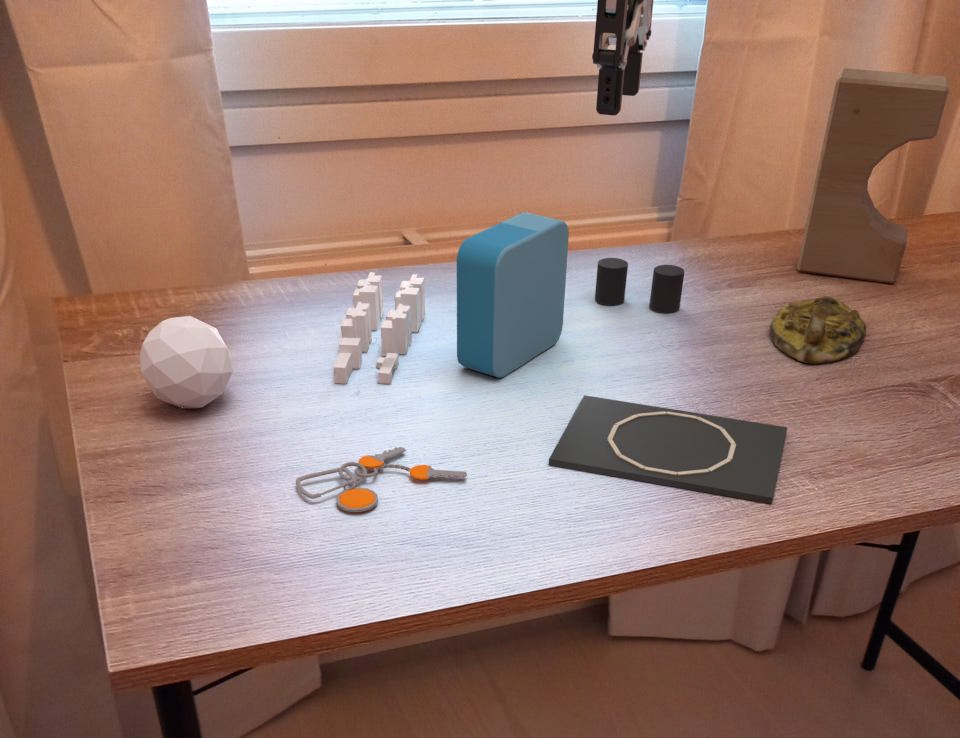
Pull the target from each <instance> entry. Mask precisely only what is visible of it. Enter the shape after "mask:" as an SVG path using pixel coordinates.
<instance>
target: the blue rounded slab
mask: <svg viewBox="0 0 960 738" xmlns="http://www.w3.org/2000/svg"><path fill="white" fill-rule="evenodd" d="M569 233H570V232H569V227H568V225H567V223H566V222H565V221H564V220H561V219H557V218H554V217H553V218H552V217H548V216H543V215H540V214H535V213H530V212H526V211H523V212H520V213H518V214H516V215H514V216H512V217H510V218H508V219H505V220H504V221H501V222H499V223H497V224H495V225H493V226H490V227H488V228H486V229H484V230H482V231H480V232H478V233H476V234H473V235H471V236H469V237H467V238H465V239H464V240H463V241H462V243H461V244H460V246H459V248H458V251H457V255H456V358H457V361H458V363H459V365H460V366H462V367H464V368H467V369H470V370H473V371H475V372H476V371H477V372H479V373H483V374H486V375H489V376H491V377H496V378H499V379H501V378H503V377H506V376H507V375H510V374H511V373H512V372H513V371H515V370H517V369H518V368H520V367H521V366H523V365H524V364H526V363H527V362H529V361H531V360H532V359H534V358H535V357H537V356H539V355H540V354H541V353H544V352H545V351H547V350H548V349H550V348H552V346H554V345H555V344H557V342H558V341H559V339H560V337H561V335H562V331H563V326H564V313H565V299H566V298H565V297H566V284H567V283H566V282H567V281H566V280H567V269H568V268H567V266H568V264H567V263H568V252H569V238H570V237H569V235H570V234H569Z"/></svg>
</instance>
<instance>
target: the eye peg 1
mask: <svg viewBox="0 0 960 738" xmlns="http://www.w3.org/2000/svg"><path fill="white" fill-rule="evenodd" d="M628 268H629V263H628V261H626V259H625V260H624V259H622V258H619V257H605V258H600V259H599V260H598V261H597V267H596V279H595V280H596V281H595V290H594V291H595V292H594V301H595V303H596V302H597V303H598V304H600V305H603V306H610V307H611V306H619V305H622V304H624V303H625V298H626V290H627V289H626V287H627V277H628Z"/></svg>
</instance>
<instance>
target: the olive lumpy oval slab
mask: <svg viewBox="0 0 960 738" xmlns="http://www.w3.org/2000/svg"><path fill="white" fill-rule="evenodd" d="M860 315H861V314H860V311H859V310H858V309H851V308H850V307H849V306H847V304H846V303H844V302H843V301H841V300H839V299H837V298H834V297H832V296H829V295H823V296H819V297H816V298H813V299H808V300H802V301H801V300H800V301H796V302H788V303H787V304H786V305H785V306H783V307H781V308H778V310H777V312H776V313H775V314H774V315H773V318H772V320H771V322H770V325H769V332H770V336H771V339H772V341H773V343H774V345H775V346H776V347H777V348H778V349H779V350H780V351H781V352H783V353H784V354H786V355H787V356H789V357H791V358H793V359H795V360H797V361H798V362H801V363H806V364H811V365H812V364H813V365H814V364H815V365H816V364H824V363H825V364H826V363H832V362H833V363H834V362H837V361H838V362H839V361H841V360H844V359H847V358H850V357H851V356H852V355H854V354H856V352H858V350H859V349H860V346H861V344H862V343H863V341H864V340H865V339H866V336H867V325H866V323H865V321H864V320H863V318H862V317H861V316H860Z"/></svg>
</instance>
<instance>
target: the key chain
mask: <svg viewBox="0 0 960 738" xmlns="http://www.w3.org/2000/svg"><path fill="white" fill-rule="evenodd" d="M405 452H407V449H406V448H405V447H403V446H398V447H397V446H396V447H394V448H392V449H388V450H384V451H383V452H382V453H378V454H377V453H376V454H375V455H370V454H368V455H363V456H361V457H360V458H359V459H358V462H355V461H348V462H345V463H343V464H342V465H340V467H337V468H332V469H327V470H322V471H318V472H313V473H309V474H305V475H302V476H300V477H297V478H296V479H295V485H296V488H297V490H298V491H299V492H300V493H301V494H302V495H303V496H305V497H306V498H308V499H310V500H314V499H318V498H321V497H322V496H324V495H327V494H329V493H332V492H334V491H336V490H339V489H343V490H342V491H341V492H339V493H338V494H337V496H336V497H335V501H336V506H338V507H339V509H341V510H343V511H345V512H350V513H361V512H362V513H363V512H366V511H369V510H372V509H373V508H374V507H376V506H377V504H378V503H379V496H378V494H377V493H376V492H375V491H374V490H372V489H370V488H368V487H367V488H366V487H360V486H359V487H358V486H357V487H356V485H357V483H358V482H361V481H363V480H365V478H372V477H376V475H378V473H379V471H378V470H382V469H397V470H398V469H400V470H404V471H406V472H409V476H410V477H412V478H413V479H415V480H420V481H424V480H429V479H431V478H440V477H441V478H444V479H448V478H450V479H454V478H458V479H465V478H466V477H467V476H468V473H467V471H463V470H462V471H461V470H445V469H444V470H443V469H435V468H433V467H432V465H427V464H416V465H414V466H412V467H408V466H405V465H402V464H401V465H400V464H393V463H389V464H385V462H384V461H386V460H388V459H391V458H393V457H395V456H398V455H400V454H402V453H405ZM348 467H356V468H355V469H354V470H353V472H354V473H353V472H352V471H351V470H350V469H348ZM368 470H371V471H373V472H370V473H368ZM360 471H362V473H361V472H360ZM335 473H336V474H338V475H339V477H340V478H341V479H342V480H344V481H345V482H344V483H342V484H339V485H337V486H335V487H332V488H330V489H328V490H324V491H323V492H317V493H310V492H308V491H307V490H306V489H305V488H304V487H303V486H302V483H301V482H304V481H306V480H309V479H313V478H318V477H323V476H326V475H331V474H335ZM344 473H345V474H346V475H348V476H346V475H345V474H344ZM356 476H357V477H356ZM347 486H350V487H349V488H346V487H347Z"/></svg>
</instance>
